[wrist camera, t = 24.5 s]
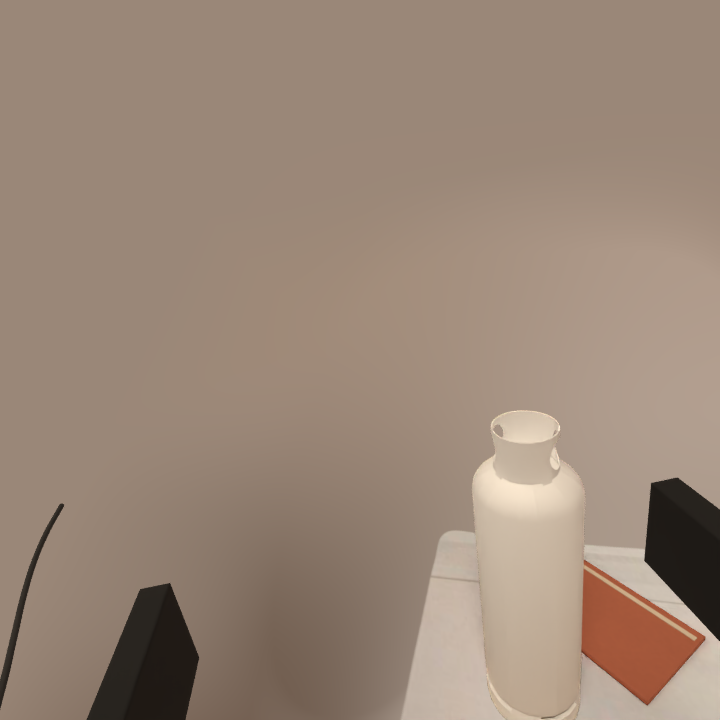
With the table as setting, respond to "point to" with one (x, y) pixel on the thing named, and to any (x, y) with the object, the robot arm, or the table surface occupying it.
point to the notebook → (632, 635)
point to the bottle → (530, 569)
